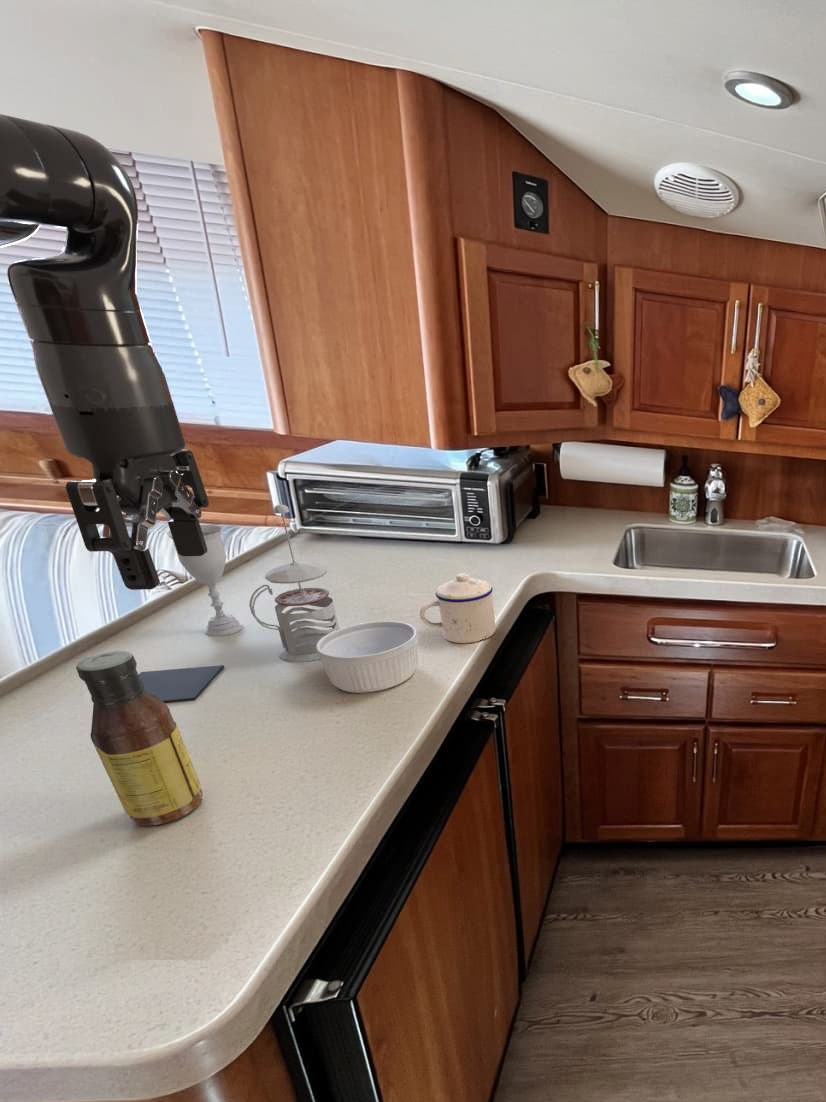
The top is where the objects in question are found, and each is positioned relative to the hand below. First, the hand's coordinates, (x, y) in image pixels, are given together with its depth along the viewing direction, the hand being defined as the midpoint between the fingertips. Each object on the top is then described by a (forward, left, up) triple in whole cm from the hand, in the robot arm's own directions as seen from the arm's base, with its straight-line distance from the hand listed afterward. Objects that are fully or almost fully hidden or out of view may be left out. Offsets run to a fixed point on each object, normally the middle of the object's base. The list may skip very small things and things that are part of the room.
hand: (170, 570), depth 61 cm
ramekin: (+7, +30, -30) cm, 43 cm away
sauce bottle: (-8, +2, -30) cm, 31 cm away
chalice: (-20, +53, -30) cm, 64 cm away
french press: (-5, +42, -30) cm, 52 cm away
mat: (-20, +33, -30) cm, 49 cm away
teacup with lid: (+18, +43, -30) cm, 55 cm away
